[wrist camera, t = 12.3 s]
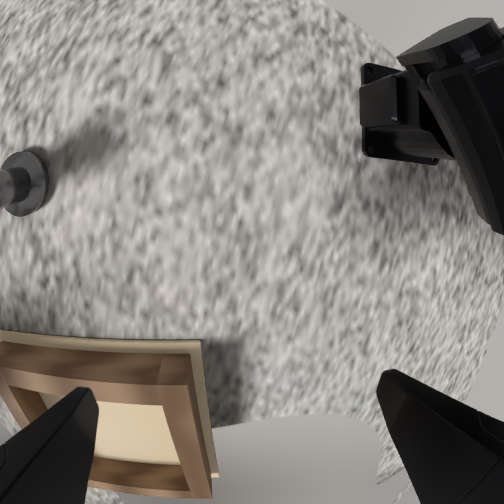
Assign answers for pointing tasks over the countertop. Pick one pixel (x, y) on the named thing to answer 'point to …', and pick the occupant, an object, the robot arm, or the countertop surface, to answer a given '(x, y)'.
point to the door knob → (23, 183)
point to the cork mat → (133, 415)
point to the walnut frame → (117, 391)
